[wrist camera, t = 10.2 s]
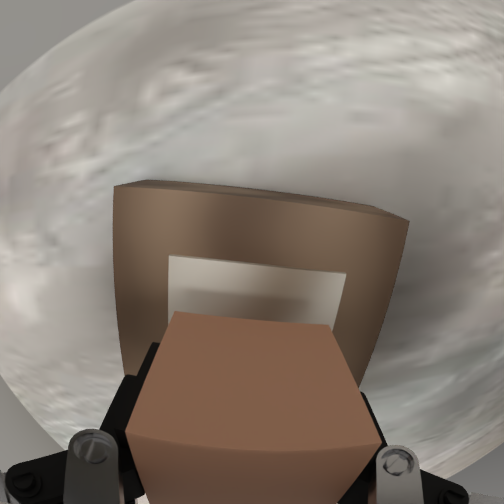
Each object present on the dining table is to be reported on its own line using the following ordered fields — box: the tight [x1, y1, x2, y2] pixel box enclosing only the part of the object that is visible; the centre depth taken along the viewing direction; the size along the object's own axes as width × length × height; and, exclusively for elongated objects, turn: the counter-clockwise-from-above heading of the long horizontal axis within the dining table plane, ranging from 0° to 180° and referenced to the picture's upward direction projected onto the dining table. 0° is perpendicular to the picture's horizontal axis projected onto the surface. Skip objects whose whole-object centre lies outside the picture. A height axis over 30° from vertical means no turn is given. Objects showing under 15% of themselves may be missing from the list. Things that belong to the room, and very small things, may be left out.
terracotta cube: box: [125, 311, 382, 504], centre depth 8 cm, size 5×5×5 cm
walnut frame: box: [113, 180, 409, 388], centre depth 14 cm, size 12×12×4 cm
